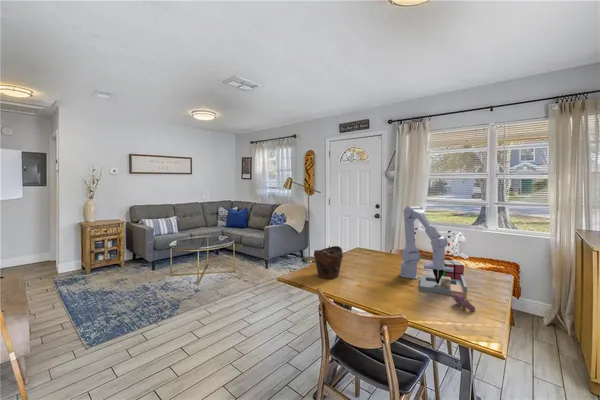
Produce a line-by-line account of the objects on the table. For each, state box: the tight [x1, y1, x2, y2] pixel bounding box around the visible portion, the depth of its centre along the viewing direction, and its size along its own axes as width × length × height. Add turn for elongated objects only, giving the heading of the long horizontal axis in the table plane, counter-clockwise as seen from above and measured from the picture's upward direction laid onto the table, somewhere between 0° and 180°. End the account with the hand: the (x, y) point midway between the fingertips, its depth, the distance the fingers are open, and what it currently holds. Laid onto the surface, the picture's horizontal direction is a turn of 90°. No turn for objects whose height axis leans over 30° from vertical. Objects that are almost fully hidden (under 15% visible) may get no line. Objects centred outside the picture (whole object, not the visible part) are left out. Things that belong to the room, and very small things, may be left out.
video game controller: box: [451, 294, 476, 312], centre depth 131 cm, size 10×5×7 cm, turn 5°
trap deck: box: [419, 274, 468, 299], centre depth 155 cm, size 22×20×6 cm
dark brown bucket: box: [313, 245, 344, 280], centre depth 174 cm, size 18×20×18 cm
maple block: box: [441, 276, 451, 288], centre depth 151 cm, size 4×4×4 cm
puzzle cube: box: [442, 259, 465, 280], centre depth 170 cm, size 10×10×10 cm
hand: (437, 283), depth 153 cm, fingers closed
